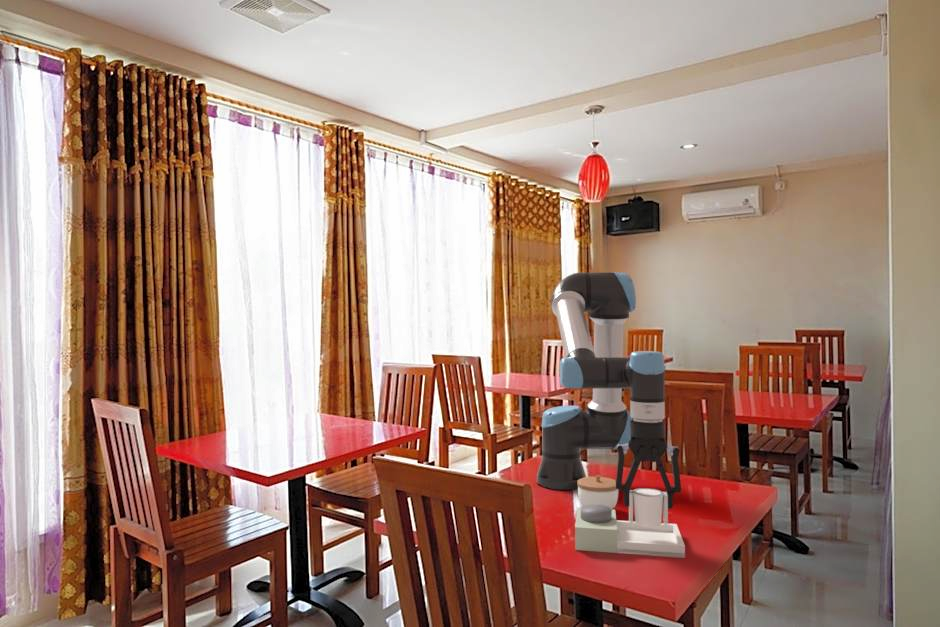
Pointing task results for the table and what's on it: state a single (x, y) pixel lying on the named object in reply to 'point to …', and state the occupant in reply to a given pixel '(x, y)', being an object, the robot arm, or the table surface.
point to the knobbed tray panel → (624, 534)
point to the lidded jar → (597, 491)
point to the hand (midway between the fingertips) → (648, 521)
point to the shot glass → (648, 506)
